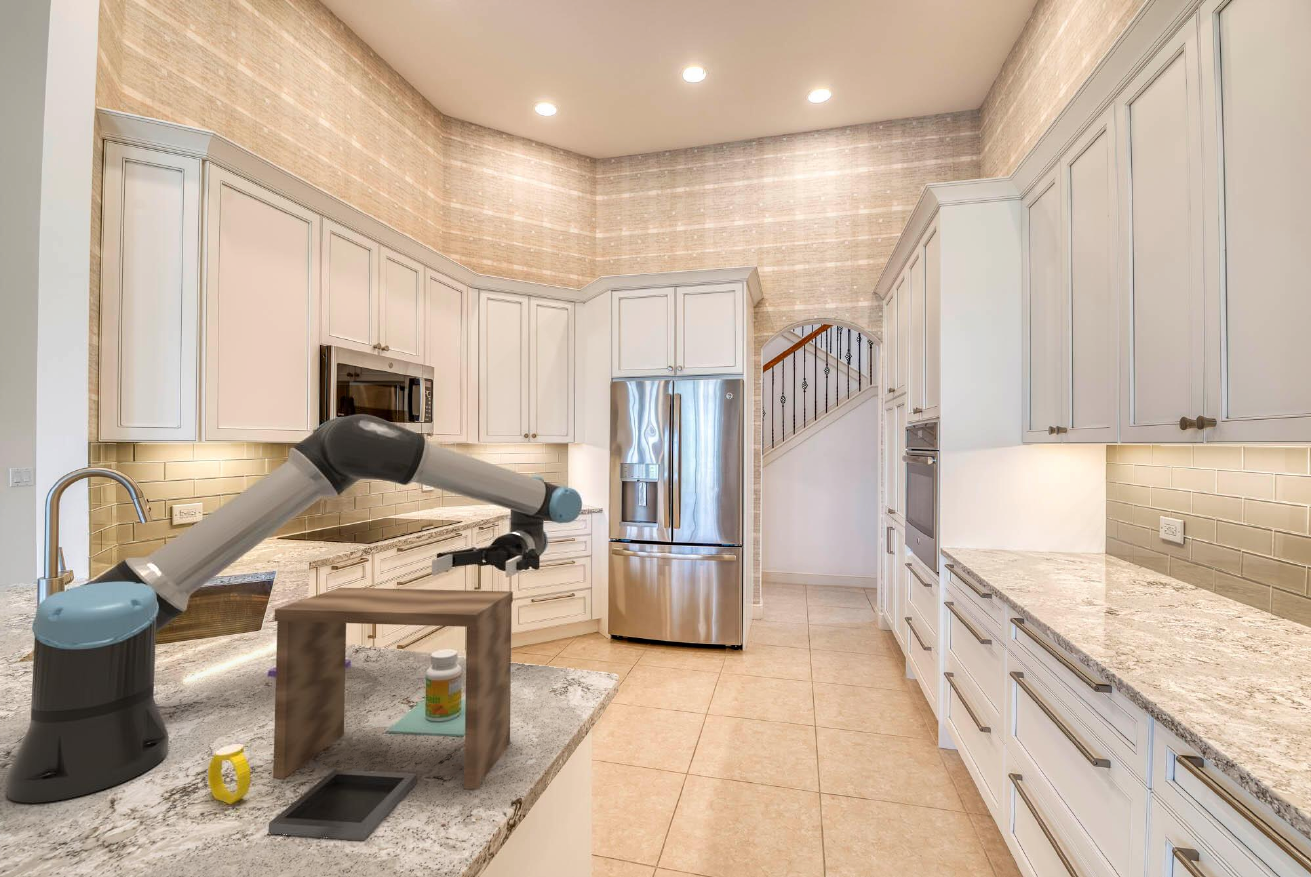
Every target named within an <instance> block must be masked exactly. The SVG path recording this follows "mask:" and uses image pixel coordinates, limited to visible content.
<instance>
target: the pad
mask: <svg viewBox="0 0 1311 877" xmlns="http://www.w3.org/2000/svg"><path fill="white" fill-rule="evenodd" d="M465 702H466V699H461V712H460V714H459V715H458V716H457V717H455V718H453V719H451V720H447V721H440V722H436V721H430V720H428V719H427V718H426V716H425V703H426V698H425V699H423V700H422V701H420V702H419V704H417V705H416V706H415V707H414V708H412V709H411V710H410V711H408V712H407V713H406V714H405V715H403V716H402V717H401V718H400V719H398V720H397V721H396V722H395V723H394V724H393V725H391V726H390V727H388V729H386V731H385V732H386V734H399V735H400V734H401V735H403V734H404V735H419V736H421V735H422V736H437V737H438V736H443V737H462V738H463V737H464V738H465Z"/></svg>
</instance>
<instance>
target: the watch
mask: <svg viewBox="0 0 1311 877" xmlns="http://www.w3.org/2000/svg"><path fill="white" fill-rule="evenodd" d="M244 747H245V746H244V745H243V744H242V743H234V744H229V745H226V746H223V747H221V748H219V749H217V750H216V751H215V753H214V756H213V757H211V761H210V763H209V765H208V769H207V770H208V772H207V781H208V785H209V789H210V792H211V794H212V796H213V798H214V800H218V801H221V802H224V803H226V804H229V805H232V804H234V803H237V802H238V801H240V800H242V799H243V798H244V797H246V795H247V793H248V792H249V789H250V785H251V768H250V765H249V762H248V760H247V757H246V756H245V754H244V749H245V748H244ZM227 760H229V762H230V763H231V765H232V766H233V768H234V772H235V775H236V786H237V787H236V791H235V793H234V792H231V791H230V790H228V788H227V787H226V785H225V783H224V780H223V779H224V778H223V775H222V767H223V765H222V764H223V761H227Z"/></svg>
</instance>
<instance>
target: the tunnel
mask: <svg viewBox="0 0 1311 877" xmlns="http://www.w3.org/2000/svg"><path fill="white" fill-rule="evenodd" d="M513 592H514V591H510V590H508V591H507V590H506V591H505V590H465V589H464V590H463V589H460V590H458V589H422V588H421V589H419V588H418V589H416V588H415V589H414V588H380V587H379V588H377V587H376V588H373V587H371V588H369V587H337V588H334V589H331V590H328V591H326V592H322V593H319V594H316V595H313V596H311V597H308V598H305V599H302V600H299V601H295V602H293V603H290V604H286V605H284V606H281V607H278V608H275V609H274V622H277V623H276V627H277V628H276V654H275V655H276V658H275V659H276V660H275V662H276V663H275V664H276V665H275V667H276V677H275V698H274V728H273V729H274V730H273V731H274V732H273V734H274V735H273V736H274V737H273V767H272V768H273V771H272V772H273V774H272V778H273V779H286V778H287V777H288V776H289V775H291V774H293V772H295V771H296V770H298V769H299V768H300V767H302V766H304V764H306V763H308V762H309V760H311V759H312V758H314V757H315V756H317V755H318V754H319V753H321V752H322V751H323V750H324V749H326V748H328V747H329V746H330V745H332V744H333V743H335V741H337V740H338V739H340V738H341V737H343V736H344V735H345V702H346V701H345V698H346V694H345V693H346V692H345V691H346V669H345V660H346V656H347V655H346V652H347V650H346V649H347V646H346V645H347V624H358V625H359V624H360V625H361V624H365V625H367V624H368V625H393V626H394V625H396V626H397V625H398V626H433V627H466V631H465V632H466V633H465V634H466V635H465V636H466V638H465V639H466V641H465V644H466V646H465V648H466V649H465V700H466V702H465V735H464V781H463V782H464V785H463V786H464V787H463V788H464V790H475V791H476V790H477V789H478V788H479V786H480V784H482V782H483V781H484V780H485V778H486V776H487V775H488V774H489V772H490V771H491V770H492V768H493V767H494V766H495V764H496V762H497V761H498V760H499V759H500V757H501V756H502V754H503V753H504V752H505V750H506V749H507V748H508V746H509V745H510V743H511V688H512V687H511V685H512V684H511V683H512V681H511V680H512V679H511V678H512V677H511V673H512V672H511V671H512V670H511V669H512V668H511V667H512V665H511V664H512V603H513V599H514V598H513V597H514V595H513Z"/></svg>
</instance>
